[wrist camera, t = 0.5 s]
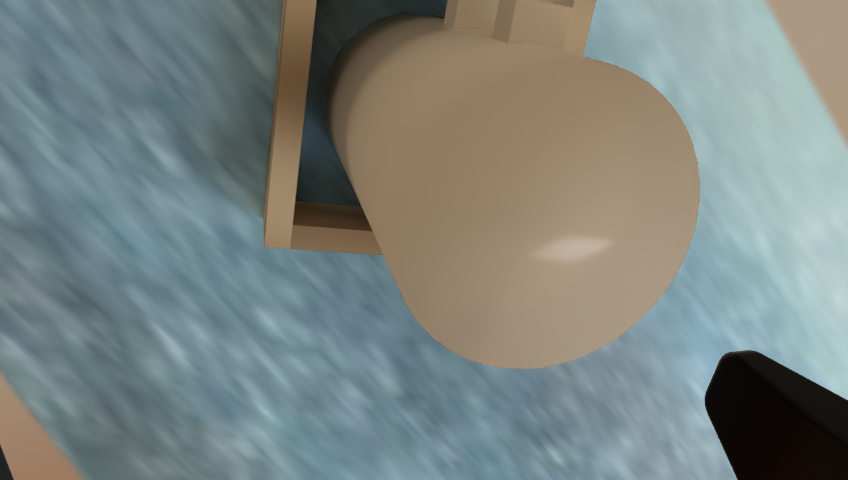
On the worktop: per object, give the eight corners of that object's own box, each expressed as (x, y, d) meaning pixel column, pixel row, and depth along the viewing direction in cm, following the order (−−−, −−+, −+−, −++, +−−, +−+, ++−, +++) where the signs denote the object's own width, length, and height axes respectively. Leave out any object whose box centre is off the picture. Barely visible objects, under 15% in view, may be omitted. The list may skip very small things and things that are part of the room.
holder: (508, 239, 26) (532, 265, 24) (263, 219, 23) (264, 247, 21) (564, -13, 23) (598, -11, 20) (289, -67, 20) (294, -71, 18)
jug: (476, 195, 25) (648, 372, 14) (314, 180, 23) (367, 365, 12) (522, -28, 22) (775, -22, 11) (342, -63, 21) (441, -96, 10)
